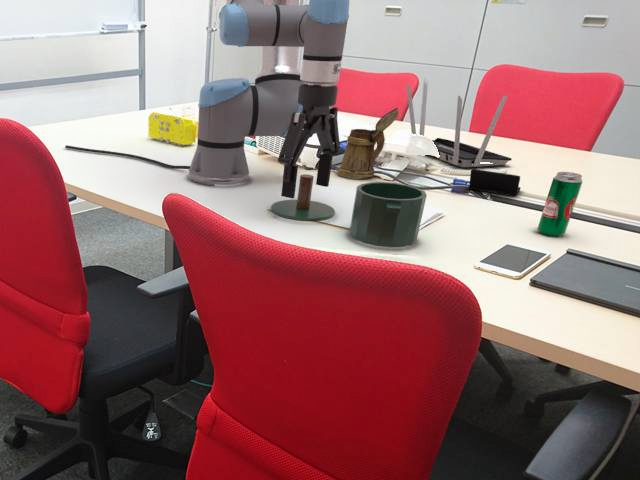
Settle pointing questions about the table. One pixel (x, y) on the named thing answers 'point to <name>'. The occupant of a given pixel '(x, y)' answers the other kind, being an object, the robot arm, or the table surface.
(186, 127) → the yellow toy chassis
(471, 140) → the table surface
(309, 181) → the lid
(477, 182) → the black box
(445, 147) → the wireless router
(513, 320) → the table surface
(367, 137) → the wooden mug
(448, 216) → the table surface
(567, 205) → the soda can
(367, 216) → the tin
